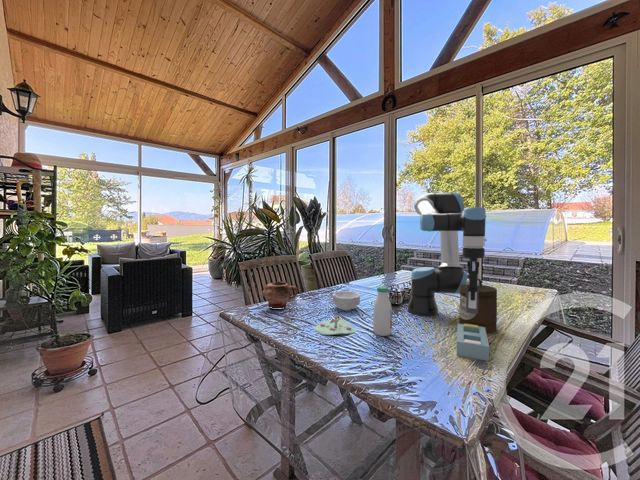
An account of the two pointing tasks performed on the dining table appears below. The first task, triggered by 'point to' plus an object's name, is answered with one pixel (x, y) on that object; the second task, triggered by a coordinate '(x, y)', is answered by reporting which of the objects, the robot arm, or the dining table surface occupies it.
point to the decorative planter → (278, 294)
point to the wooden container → (480, 308)
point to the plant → (334, 327)
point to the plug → (468, 310)
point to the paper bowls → (346, 300)
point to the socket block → (472, 342)
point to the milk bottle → (382, 313)
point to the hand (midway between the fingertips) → (472, 306)
